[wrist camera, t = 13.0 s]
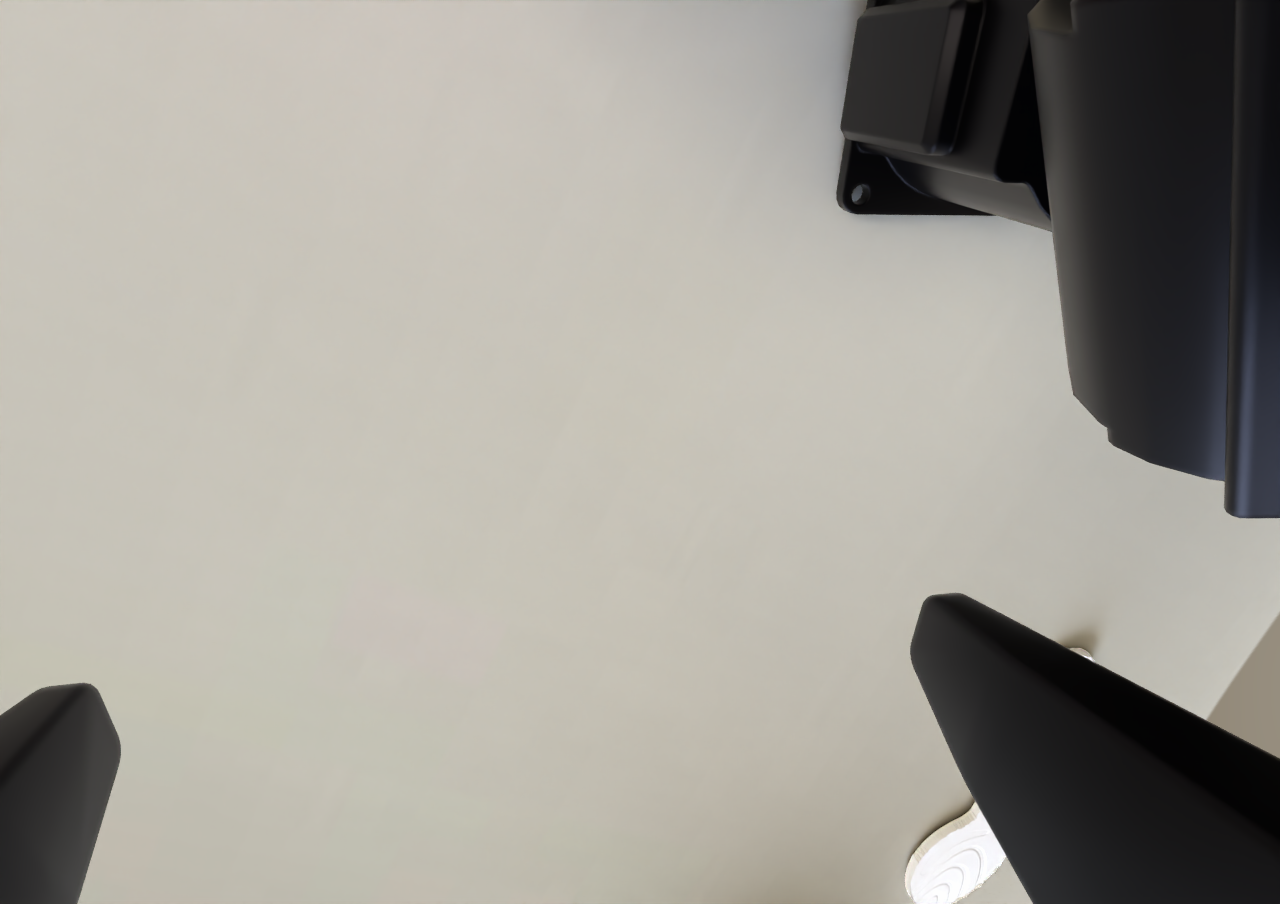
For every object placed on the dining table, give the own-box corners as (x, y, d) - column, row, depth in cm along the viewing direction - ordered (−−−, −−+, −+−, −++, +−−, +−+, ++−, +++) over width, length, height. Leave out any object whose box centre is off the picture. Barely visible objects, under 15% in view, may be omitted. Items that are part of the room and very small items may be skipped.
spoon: (1125, 647, 31) (1134, 656, 31) (971, 896, 39) (976, 906, 39) (1023, 648, 30) (1031, 657, 29) (885, 906, 38) (890, 916, 37)
